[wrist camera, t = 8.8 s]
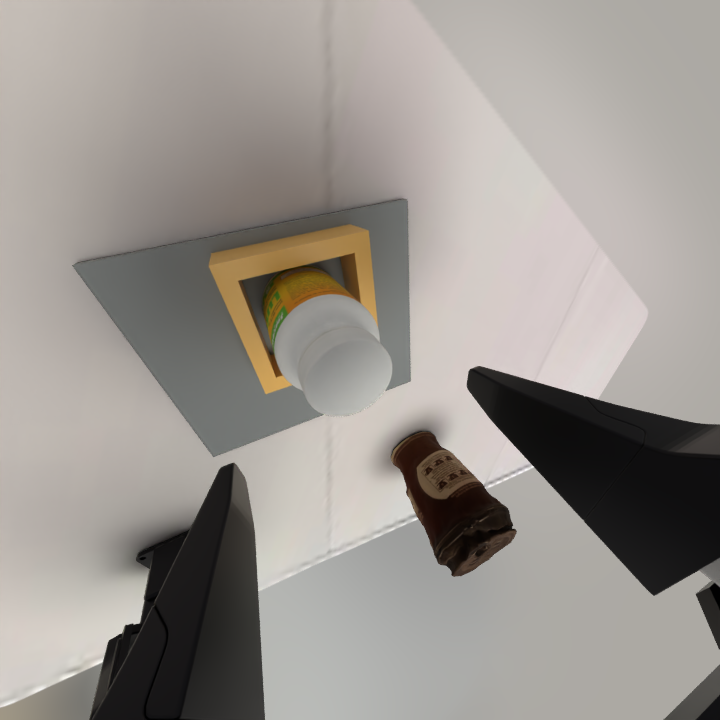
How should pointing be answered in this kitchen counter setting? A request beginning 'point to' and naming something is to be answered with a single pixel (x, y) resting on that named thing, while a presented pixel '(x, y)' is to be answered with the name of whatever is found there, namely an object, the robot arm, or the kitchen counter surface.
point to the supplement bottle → (325, 341)
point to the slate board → (218, 332)
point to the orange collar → (281, 256)
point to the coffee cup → (452, 505)
